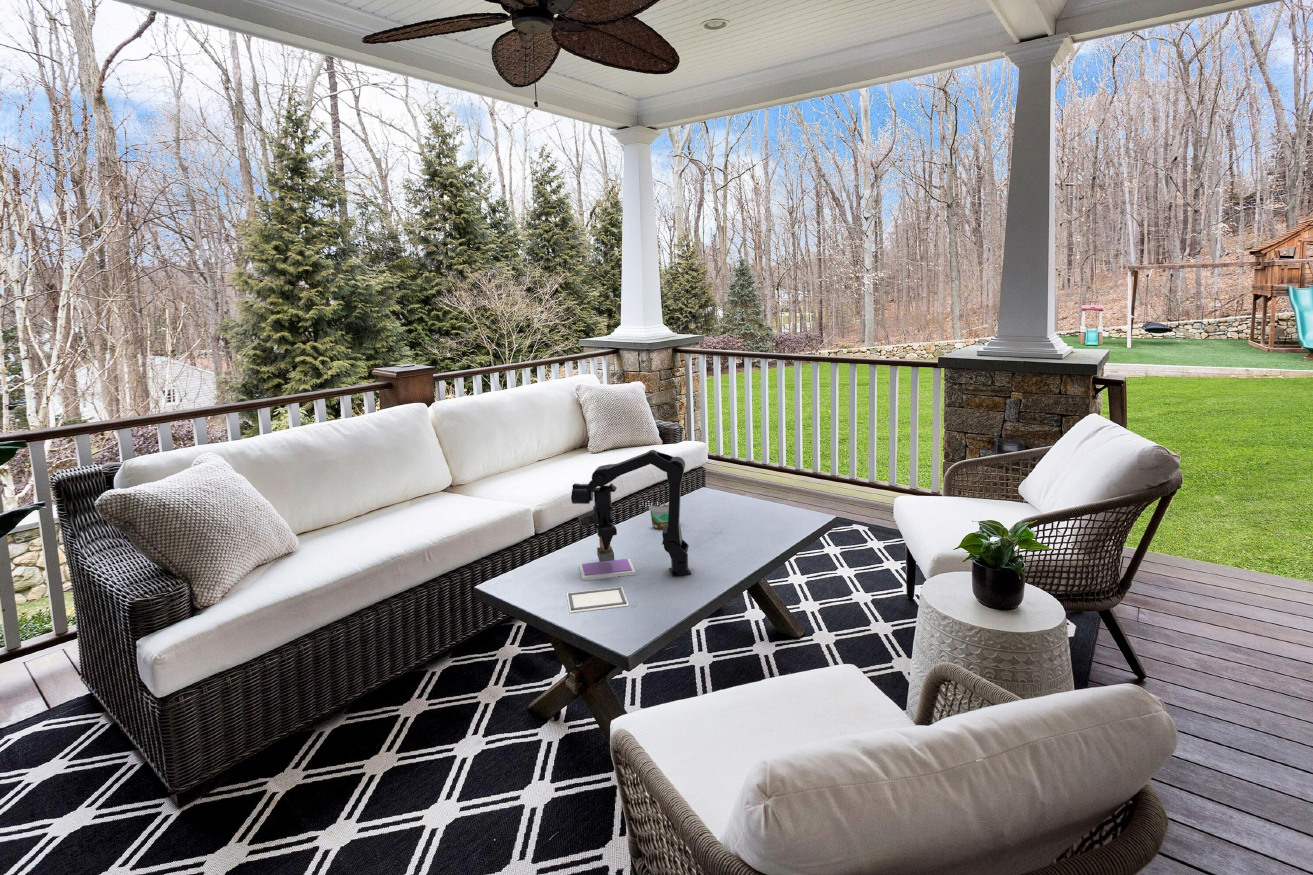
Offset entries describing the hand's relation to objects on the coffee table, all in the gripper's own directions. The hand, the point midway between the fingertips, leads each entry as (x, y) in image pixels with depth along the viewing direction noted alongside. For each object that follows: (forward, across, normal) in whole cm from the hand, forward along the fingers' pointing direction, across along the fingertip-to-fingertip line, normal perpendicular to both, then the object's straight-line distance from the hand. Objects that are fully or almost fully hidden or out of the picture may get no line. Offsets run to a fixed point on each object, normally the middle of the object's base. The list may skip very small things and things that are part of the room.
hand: (605, 547), depth 236 cm
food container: (+9, -37, +29) cm, 48 cm away
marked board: (+9, +22, -6) cm, 24 cm away
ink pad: (+9, 0, 0) cm, 9 cm away
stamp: (+4, 0, 0) cm, 4 cm away
